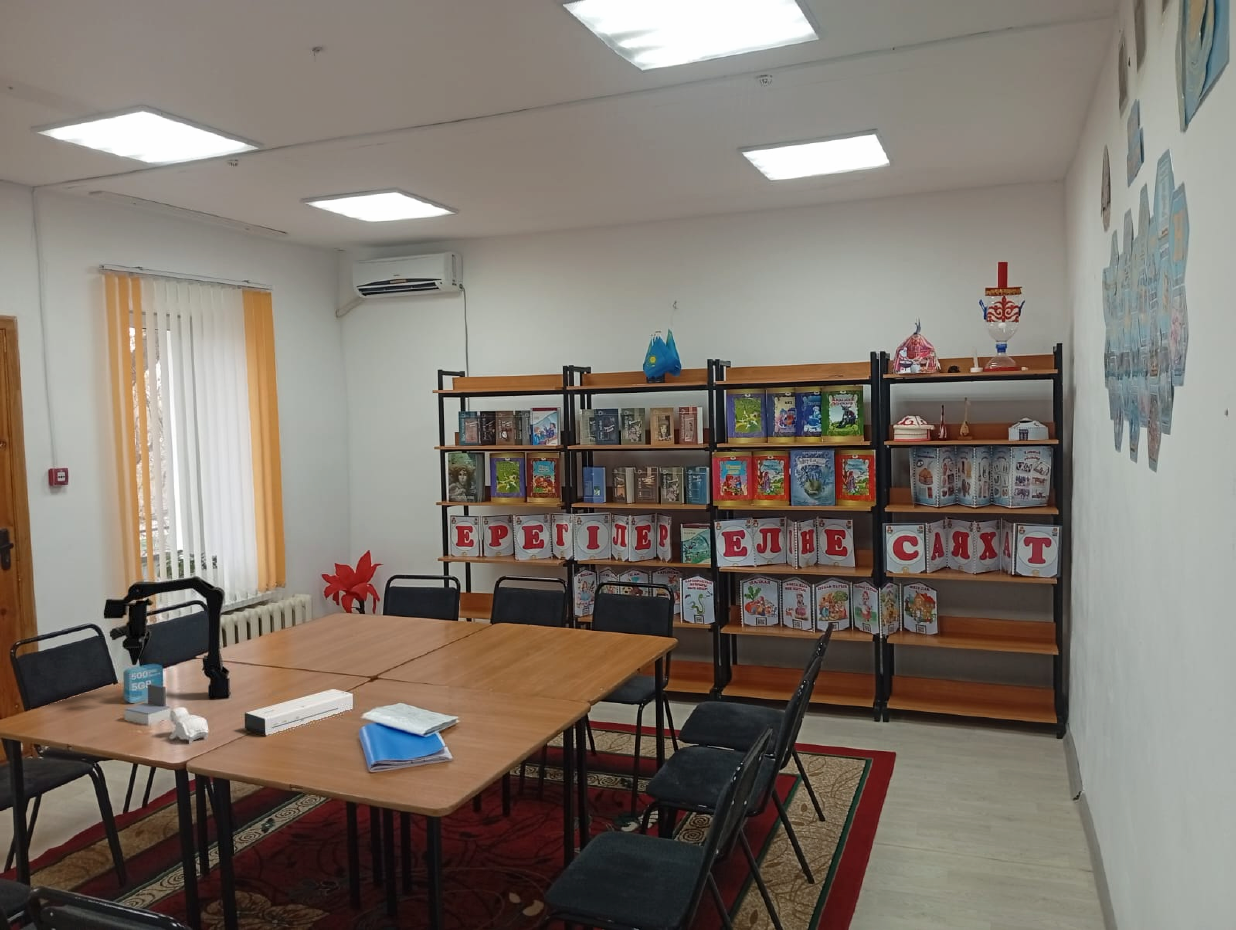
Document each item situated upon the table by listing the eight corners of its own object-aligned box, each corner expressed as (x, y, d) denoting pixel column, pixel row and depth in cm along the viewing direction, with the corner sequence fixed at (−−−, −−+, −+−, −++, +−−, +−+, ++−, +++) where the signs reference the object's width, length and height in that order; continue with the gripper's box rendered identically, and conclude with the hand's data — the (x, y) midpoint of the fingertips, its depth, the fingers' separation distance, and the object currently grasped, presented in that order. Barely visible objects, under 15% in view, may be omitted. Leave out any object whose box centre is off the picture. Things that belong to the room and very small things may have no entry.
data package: (129, 704, 322) (128, 671, 322) (123, 702, 325) (123, 669, 324) (163, 697, 331) (163, 664, 331) (158, 694, 334) (157, 662, 334)
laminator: (264, 738, 287) (264, 718, 287) (242, 731, 294) (242, 712, 294) (353, 711, 314) (353, 693, 314) (331, 705, 322) (331, 687, 321)
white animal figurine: (209, 746, 287) (185, 721, 295) (214, 723, 285) (190, 698, 293) (183, 754, 280) (159, 728, 288) (188, 730, 278) (164, 705, 286)
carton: (146, 713, 311) (146, 703, 311) (170, 718, 306) (169, 708, 306) (124, 720, 304) (124, 710, 304) (148, 725, 299) (148, 714, 299)
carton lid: (146, 703, 311) (145, 683, 311) (169, 708, 306) (169, 687, 306) (124, 710, 304) (124, 689, 304) (148, 714, 299) (147, 693, 299)
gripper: (117, 613, 328) (116, 656, 328) (106, 623, 310) (105, 669, 311) (151, 612, 332) (150, 655, 332) (142, 622, 314) (141, 667, 314)
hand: (136, 661), depth 322 cm, fingers open, 9 cm apart
